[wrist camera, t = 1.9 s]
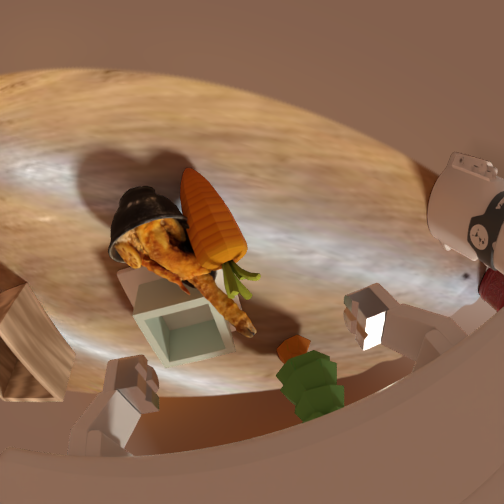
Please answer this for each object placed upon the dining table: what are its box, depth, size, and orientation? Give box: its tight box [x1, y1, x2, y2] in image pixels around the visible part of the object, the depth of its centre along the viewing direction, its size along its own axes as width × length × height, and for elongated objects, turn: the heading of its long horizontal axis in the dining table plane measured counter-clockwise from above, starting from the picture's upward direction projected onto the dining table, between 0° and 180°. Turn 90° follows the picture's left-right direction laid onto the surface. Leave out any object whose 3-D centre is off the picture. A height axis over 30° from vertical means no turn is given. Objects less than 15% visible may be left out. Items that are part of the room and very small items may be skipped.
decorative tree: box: [276, 335, 344, 424], centre depth 33 cm, size 10×9×30 cm
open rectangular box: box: [117, 265, 242, 368], centre depth 34 cm, size 14×14×7 cm
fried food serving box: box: [0, 283, 76, 402], centre depth 28 cm, size 17×15×10 cm
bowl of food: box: [108, 186, 256, 338], centre depth 26 cm, size 9×11×18 cm
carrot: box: [180, 168, 261, 300], centre depth 27 cm, size 5×5×15 cm
